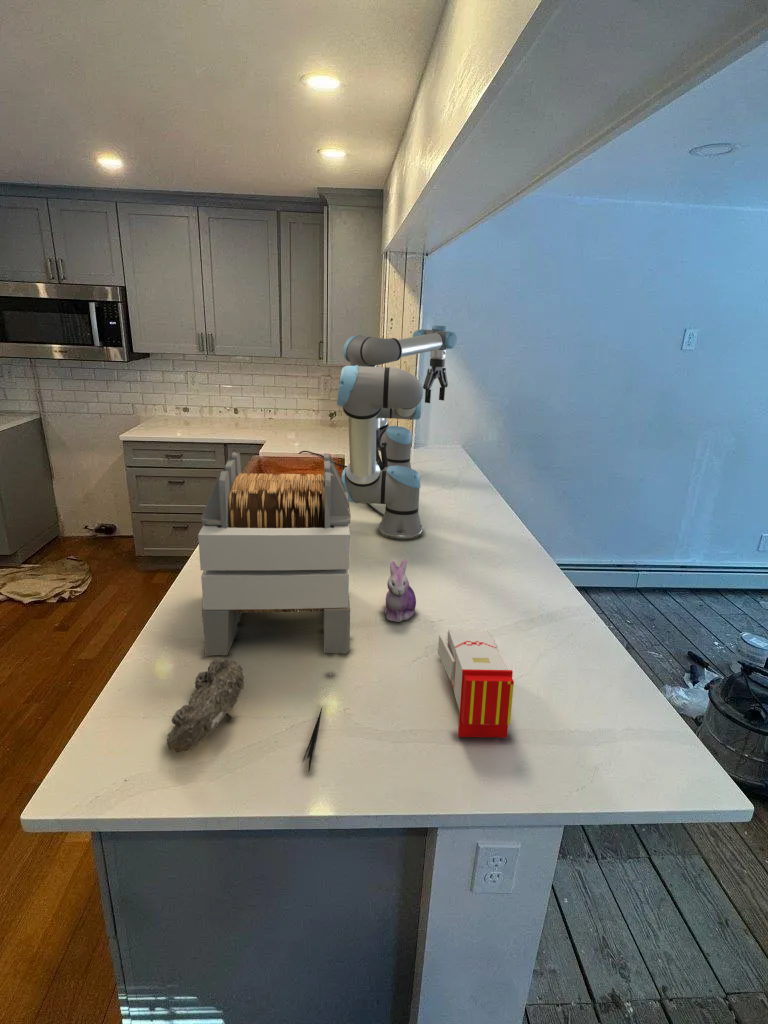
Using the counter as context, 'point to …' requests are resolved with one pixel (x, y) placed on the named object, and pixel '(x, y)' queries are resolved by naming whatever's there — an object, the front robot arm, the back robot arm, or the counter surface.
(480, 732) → the toy
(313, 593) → the record crate
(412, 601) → the figurine
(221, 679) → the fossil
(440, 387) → the back robot arm
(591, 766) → the counter surface
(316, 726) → the feather
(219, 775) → the counter surface
